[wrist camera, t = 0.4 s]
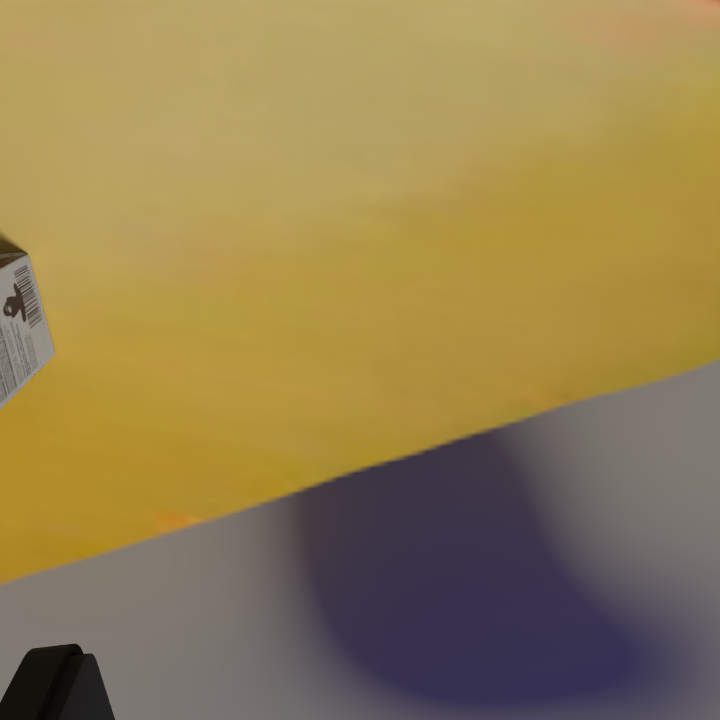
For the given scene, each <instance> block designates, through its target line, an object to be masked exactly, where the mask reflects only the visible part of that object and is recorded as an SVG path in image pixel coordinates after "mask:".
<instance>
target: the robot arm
mask: <svg viewBox="0 0 720 720" xmlns="http://www.w3.org/2000/svg"><path fill="white" fill-rule="evenodd" d="M0 720H115V718H114V715H113V712H112V709H111V705H110V703H109V699H108V696H107V693H106V690H105V686H104V683H103V680H102V677H101V674H100V671H99V667H98V664H97V661H96V659H95V657H94V655H93V654H83V652H82V649H81V648H80V647H79V645H77V644H68V645H59V646H50V647H42V648H34V649H31V650H30V651H28V653H27V654H26V655H25V657H24V658H23V660H22V662H21V664H20V666H19V668H18V670H17V671H16V673H15V675H14V677H13V679H12V681H11V683H10V685H9V687H8V689H7V691H6V692H5V694H4V696H3V698H2V701H1V702H0Z"/></svg>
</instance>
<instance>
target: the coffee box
mask: <svg viewBox="0 0 720 720" xmlns="http://www.w3.org/2000/svg"><path fill="white" fill-rule="evenodd" d="M53 356H54V348H53V344H52V340H51V336H50V333H49V329H48V325H47V322H46V318H45V314H44V311H43V307H42V303H41V299H40V295H39V292H38V288H37V284H36V281H35V277H34V273H33V270H32V266H31V262H30V259H29V255H28V254H27V253H24V252H18V253H0V409H1V408H2V407H3V406H4V405H5V404H6V403H7V402H8V401H9V400H10V399H11V398H12V397H13V396H14V395H15V394H16V393H17V392H18V391H19V390H20V389H21V388H22V387H23V386H24V385H25V384H26V383H27V382H28V381H29V380H30V379H31V378H32V377H33V376H34V375H35V374H36V373H37V372H38V371H39V370H40V369H41V368H42V367H43V366H44V365H45V364H46V363H47V362H48V361H49V360H50V359H51V358H52V357H53Z"/></svg>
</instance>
